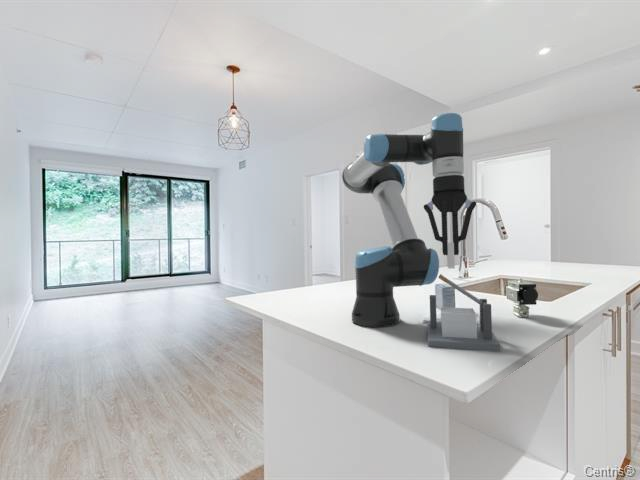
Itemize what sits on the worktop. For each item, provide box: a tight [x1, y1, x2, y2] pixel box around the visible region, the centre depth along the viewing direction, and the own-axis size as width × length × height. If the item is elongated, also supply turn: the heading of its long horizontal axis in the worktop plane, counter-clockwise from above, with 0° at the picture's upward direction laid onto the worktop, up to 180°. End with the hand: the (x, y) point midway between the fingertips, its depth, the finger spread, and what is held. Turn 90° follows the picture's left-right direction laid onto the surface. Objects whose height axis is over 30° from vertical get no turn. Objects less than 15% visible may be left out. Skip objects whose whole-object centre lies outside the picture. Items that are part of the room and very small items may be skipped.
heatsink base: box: [427, 294, 501, 352], centre depth 87 cm, size 16×14×10 cm
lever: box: [438, 273, 488, 307], centre depth 86 cm, size 14×4×1 cm
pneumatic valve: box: [504, 278, 539, 319], centre depth 107 cm, size 6×12×12 cm, turn 174°
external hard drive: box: [422, 310, 441, 325], centre depth 106 cm, size 2×8×12 cm
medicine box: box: [434, 283, 457, 311], centre depth 119 cm, size 8×4×9 cm, turn 179°
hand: (451, 267), depth 87 cm, fingers closed
